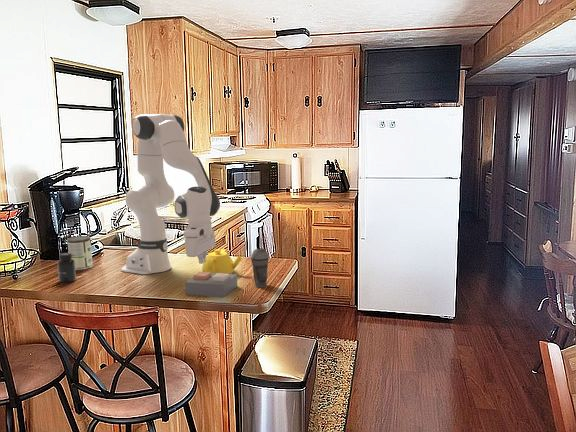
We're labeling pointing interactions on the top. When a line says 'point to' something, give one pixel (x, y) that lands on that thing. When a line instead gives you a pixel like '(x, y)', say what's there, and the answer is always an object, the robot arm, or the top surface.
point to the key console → (211, 286)
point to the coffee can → (80, 251)
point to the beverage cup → (260, 266)
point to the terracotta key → (202, 276)
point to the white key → (220, 277)
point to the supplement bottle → (66, 268)
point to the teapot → (220, 262)
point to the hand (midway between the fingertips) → (202, 262)
